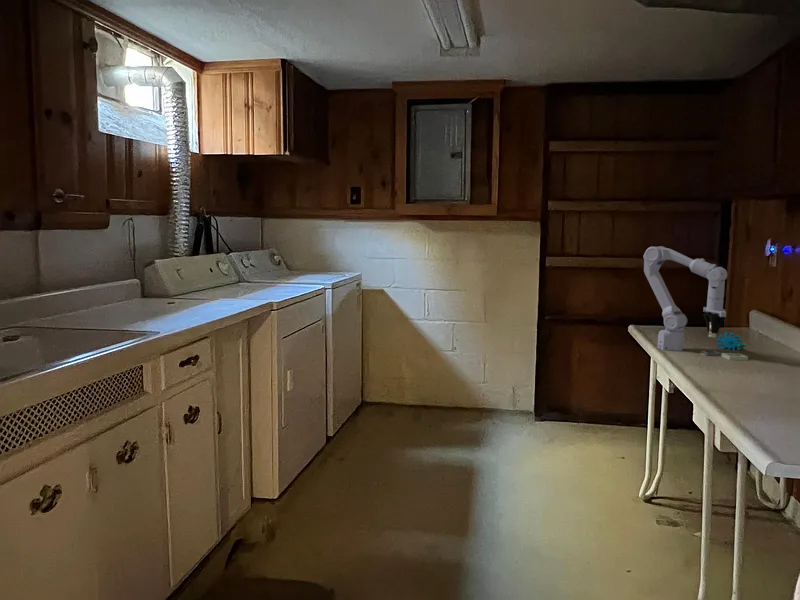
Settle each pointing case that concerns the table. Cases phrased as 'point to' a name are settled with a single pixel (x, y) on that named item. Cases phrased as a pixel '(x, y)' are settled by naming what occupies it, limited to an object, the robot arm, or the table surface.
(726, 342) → the gear
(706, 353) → the grey square holder
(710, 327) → the cylinder
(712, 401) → the table surface
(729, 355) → the parts tray
